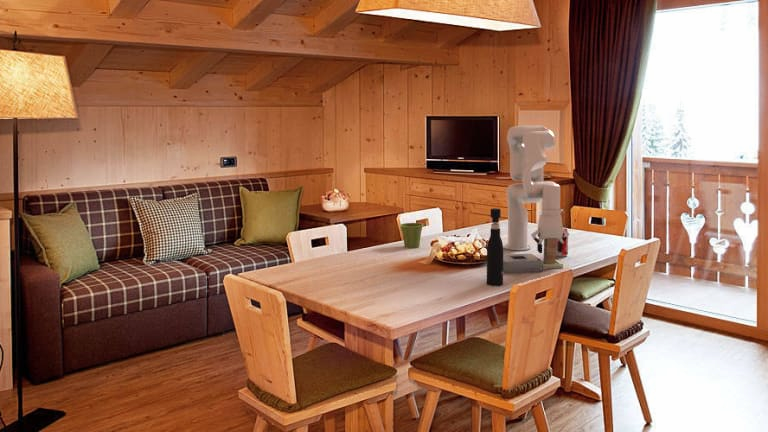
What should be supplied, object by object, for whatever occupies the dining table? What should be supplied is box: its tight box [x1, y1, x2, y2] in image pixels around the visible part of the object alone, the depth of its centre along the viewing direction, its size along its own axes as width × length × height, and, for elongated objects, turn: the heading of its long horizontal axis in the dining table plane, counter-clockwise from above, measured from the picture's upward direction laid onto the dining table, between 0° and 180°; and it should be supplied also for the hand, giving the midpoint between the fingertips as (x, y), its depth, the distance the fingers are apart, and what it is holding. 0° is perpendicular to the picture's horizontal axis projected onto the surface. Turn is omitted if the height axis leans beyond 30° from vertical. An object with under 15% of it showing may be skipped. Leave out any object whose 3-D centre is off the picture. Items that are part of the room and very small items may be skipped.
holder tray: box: [541, 259, 564, 270], centre depth 328 cm, size 9×9×2 cm
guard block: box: [503, 253, 543, 274], centre depth 323 cm, size 14×16×5 cm
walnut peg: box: [543, 238, 557, 264], centre depth 327 cm, size 4×4×16 cm
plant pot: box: [399, 222, 424, 249], centre depth 373 cm, size 12×12×11 cm
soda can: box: [556, 226, 569, 258], centre depth 348 cm, size 7×7×13 cm
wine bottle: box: [486, 207, 504, 287], centre depth 296 cm, size 6×6×30 cm
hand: (549, 252), depth 327 cm, fingers open, 8 cm apart
